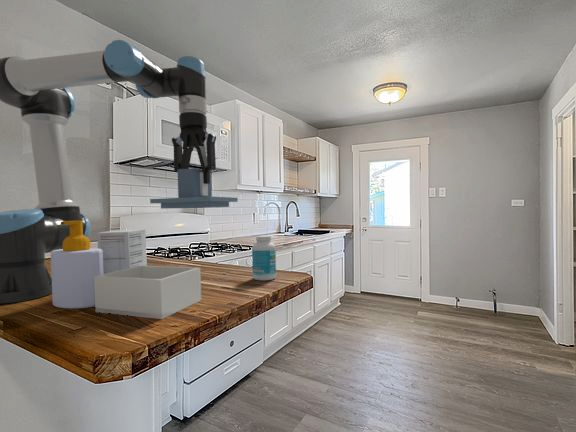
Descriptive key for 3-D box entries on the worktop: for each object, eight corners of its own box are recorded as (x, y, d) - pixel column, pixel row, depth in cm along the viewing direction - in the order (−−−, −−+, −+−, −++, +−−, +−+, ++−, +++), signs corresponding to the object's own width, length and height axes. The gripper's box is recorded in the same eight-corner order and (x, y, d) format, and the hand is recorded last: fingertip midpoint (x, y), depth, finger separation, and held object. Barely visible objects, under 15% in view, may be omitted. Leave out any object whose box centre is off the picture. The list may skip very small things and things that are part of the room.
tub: (95, 312, 71) (94, 276, 71) (142, 295, 85) (141, 265, 84) (162, 319, 66) (160, 280, 65) (201, 300, 79) (200, 267, 79)
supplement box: (149, 284, 97) (147, 229, 97) (131, 292, 88) (129, 231, 87) (119, 284, 98) (117, 229, 98) (98, 292, 89) (96, 232, 88)
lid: (150, 208, 88) (149, 169, 88) (184, 208, 103) (183, 174, 102) (210, 206, 82) (209, 165, 82) (237, 206, 96) (236, 171, 96)
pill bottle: (275, 281, 98) (274, 236, 98) (251, 281, 98) (250, 237, 98) (276, 275, 105) (275, 234, 105) (254, 276, 105) (253, 235, 105)
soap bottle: (41, 307, 76) (38, 222, 76) (73, 297, 84) (70, 220, 84) (85, 310, 73) (82, 221, 72) (114, 300, 81) (111, 219, 80)
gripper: (158, 114, 91) (160, 196, 92) (213, 106, 85) (216, 194, 86) (175, 121, 98) (177, 197, 99) (227, 114, 92) (229, 195, 93)
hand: (195, 195), depth 92 cm, fingers closed on lid, 5 cm apart
